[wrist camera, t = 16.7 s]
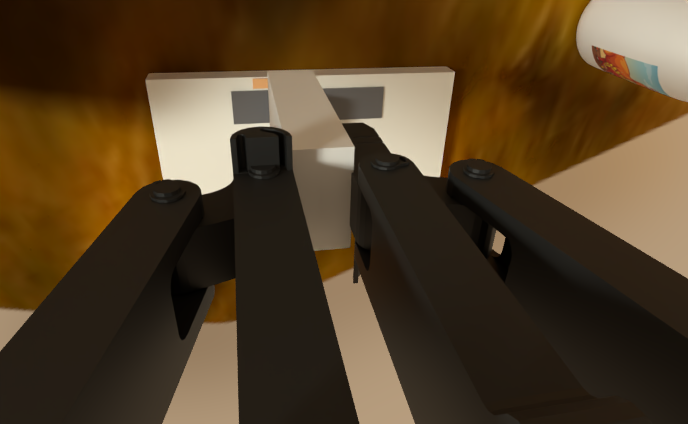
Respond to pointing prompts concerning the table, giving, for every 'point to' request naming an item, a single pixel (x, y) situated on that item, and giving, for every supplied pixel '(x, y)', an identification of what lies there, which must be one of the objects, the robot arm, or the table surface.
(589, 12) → the milk bottle
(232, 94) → the switch board
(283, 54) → the table surface
